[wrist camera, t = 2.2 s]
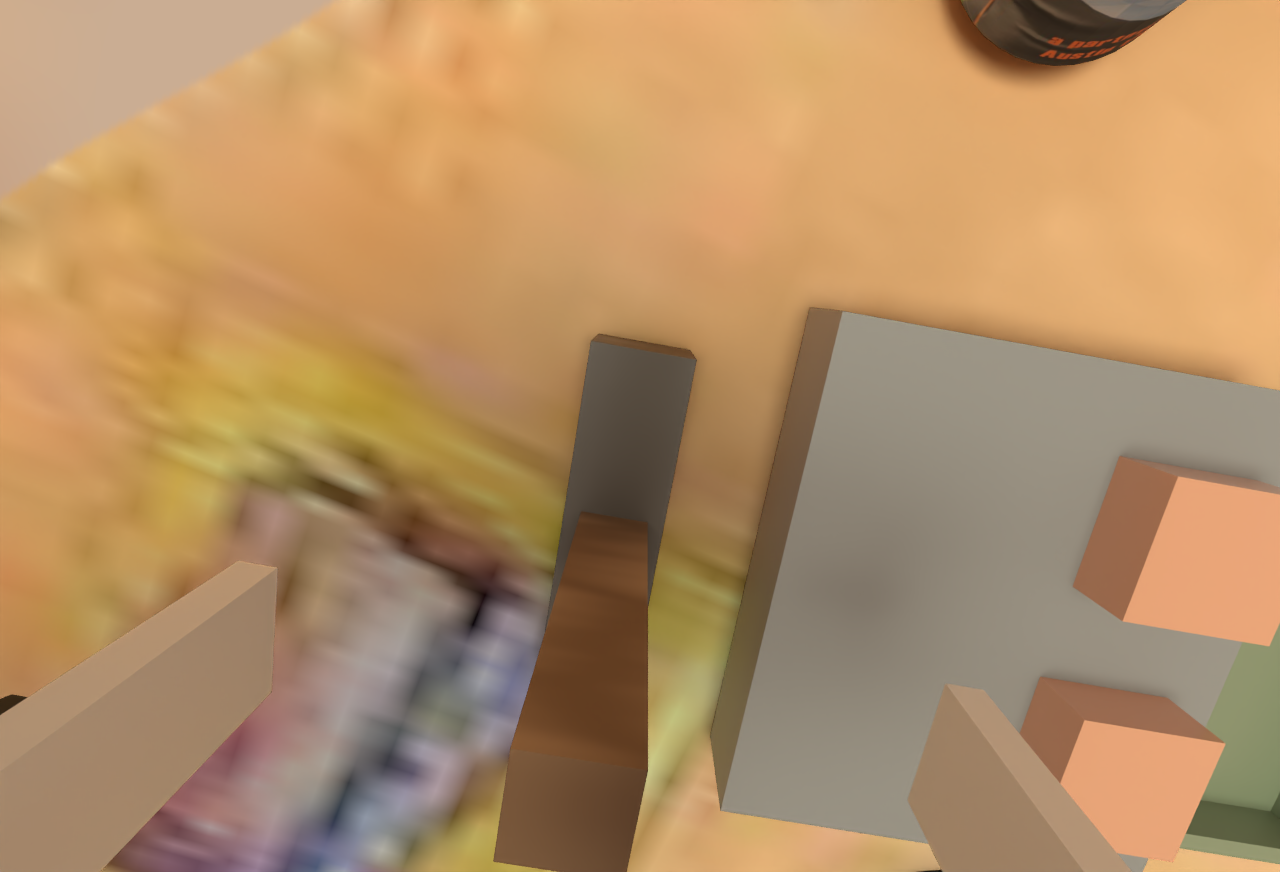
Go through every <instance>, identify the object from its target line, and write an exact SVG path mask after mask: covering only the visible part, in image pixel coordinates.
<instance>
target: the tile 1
mask: <svg viewBox="0 0 1280 872" xmlns="http://www.w3.org/2000/svg"><path fill="white" fill-rule="evenodd" d="M1020 735H1021V736H1022V737H1023V739H1024V740H1025V741H1026V742H1027V744H1028V745H1029V746H1030V747H1031V748H1032V750H1033V751H1034V752H1035V753H1036V755H1037V756H1038V757H1039V758H1040V760H1041V761H1042V762H1043V763H1044V764H1045V766H1046V767H1047V768H1048V769H1049V771H1050V772H1051V773H1052V774H1053V775H1054V777H1055V778H1056V779H1057V780H1058V782H1059V783H1060V784H1061V785H1062V786H1063V788H1064V789H1065V790H1066V791H1067V793H1068V794H1069V795H1070V796H1071V797H1072V799H1073V800H1074V801H1075V802H1076V804H1077V805H1078V806H1079V807H1080V809H1081V810H1082V811H1083V812H1084V813H1085V815H1086V816H1087V817H1088V818H1089V820H1090V821H1091V822H1092V823H1093V824H1094V826H1095V827H1096V828H1097V829H1098V831H1099V832H1100V833H1101V834H1102V835H1103V837H1104V838H1105V839H1106V840H1107V842H1108V843H1109V844H1110V845H1111V846H1112V848H1113V849H1114V850H1115V851H1116V853H1119V854H1125V855H1131V856H1138V857H1144V858H1150V859H1156V860H1163V861H1169V862H1173V861H1174V859H1175V856H1176V854H1177V852H1178V850H1179V848H1180V845H1181V843H1182V841H1183V839H1184V836H1185V834H1186V832H1187V830H1188V827H1189V825H1190V823H1191V821H1192V818H1193V816H1194V814H1195V812H1196V809H1197V807H1198V805H1199V803H1200V800H1201V798H1202V796H1203V794H1204V791H1205V789H1206V787H1207V785H1208V783H1209V780H1210V778H1211V776H1212V774H1213V771H1214V769H1215V767H1216V765H1217V762H1218V760H1219V758H1220V756H1221V753H1222V751H1223V749H1224V747H1225V744H1226V743H1224V742H1223V741H1222V740H1221V739H1219V738H1218V737H1217V736H1216V735H1214V734H1213V733H1212V732H1210V731H1209V730H1208V729H1207V728H1205V727H1204V726H1203V725H1201V724H1200V723H1199V722H1198V721H1196V720H1195V719H1194V718H1193V717H1191V716H1190V715H1189V714H1187V713H1186V712H1185V711H1184V710H1182V709H1181V708H1180V707H1179V706H1177V705H1176V704H1175V703H1173V702H1172V701H1171V700H1170V699H1168V698H1166V697H1160V696H1154V695H1148V694H1142V693H1136V692H1130V691H1124V690H1118V689H1112V688H1106V687H1100V686H1094V685H1088V684H1082V683H1076V682H1070V681H1064V680H1058V679H1052V678H1046V677H1040V678H1039V681H1038V684H1037V687H1036V689H1035V692H1034V695H1033V698H1032V701H1031V703H1030V706H1029V709H1028V712H1027V714H1026V717H1025V720H1024V723H1023V726H1022V728H1021V731H1020Z"/></svg>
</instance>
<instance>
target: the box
mask: <svg viewBox="0 0 1280 872" xmlns="http://www.w3.org/2000/svg"><path fill="white" fill-rule="evenodd" d="M1205 728H1207V729H1208V730H1209V731H1210V732H1212V733H1213V734H1214V735H1216V736H1217V737H1218V738H1219V739H1221V740H1222V741H1223V742H1224V743H1226V744H1225V747H1224V749H1223V751H1222V753H1221V756H1220V758H1219V760H1218V762H1217V765H1216V767H1215V769H1214V771H1213V774H1212V776H1211V778H1210V780H1209V783H1208V785H1207V787H1206V789H1205V791H1204V794H1203V796H1202V798H1201V800H1200V803H1199V805H1198V807H1197V809H1196V812H1195V814H1194V816H1193V818H1192V821H1191V823H1190V825H1189V827H1188V830H1187V832H1186V834H1185V836H1184V839H1183V841H1182V843H1181V845H1180V848H1182V849H1188V850H1194V851H1200V852H1207V853H1213V854H1219V855H1225V856H1232V857H1238V858H1244V859H1250V860H1257V861H1263V862H1269V863H1275V864H1280V623H1279V626H1278V628H1277V630H1276V632H1275V635H1274V637H1273V639H1272V641H1271V644H1270V646H1264V645H1258V644H1252V643H1246V642H1242V644H1241V647H1240V649H1239V651H1238V654H1237V656H1236V658H1235V660H1234V663H1233V665H1232V667H1231V670H1230V672H1229V674H1228V677H1227V679H1226V681H1225V683H1224V686H1223V688H1222V690H1221V693H1220V695H1219V697H1218V700H1217V702H1216V704H1215V706H1214V709H1213V711H1212V713H1211V716H1210V718H1209V720H1208V723H1207V725H1206V727H1205Z"/></svg>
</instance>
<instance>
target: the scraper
mask: <svg viewBox="0 0 1280 872" xmlns="http://www.w3.org/2000/svg"><path fill="white" fill-rule="evenodd" d="M696 361H697V360H696V358H695V357H694V355H693V354H692V352H691V351H690V350H686V349H681V348H675V347H670V346H664V345H659V344H653V343H647V342H642V341H636V340H631V339H625V338H619V337H614V336H608V335H603V334H598V335H597V336H596V337H595V338H594V339H593V340H591V344H590V350H589V357H588V363H587V369H586V376H585V382H584V388H583V395H582V401H581V407H580V414H579V420H578V426H577V433H576V439H575V445H574V452H573V458H572V464H571V471H570V477H569V483H568V490H567V496H566V502H565V509H564V515H563V521H562V528H561V534H560V540H559V547H558V553H557V559H556V566H555V572H554V578H553V585H552V591H551V597H550V604H549V610H548V616H547V623H546V629H545V634H544V638H543V641H542V644H541V648H540V651H539V654H538V658H537V661H536V664H535V668H534V671H533V675H532V678H531V681H530V685H529V688H528V691H527V695H526V698H525V701H524V705H523V708H522V711H521V715H520V718H519V722H518V725H517V728H516V732H515V735H514V738H513V742H512V745H511V748H510V755H509V761H508V768H507V774H506V781H505V788H504V794H503V801H502V808H501V814H500V821H499V827H498V834H497V841H496V847H495V854H494V860H493V862H499V863H506V864H512V865H519V866H525V867H532V868H538V869H545V870H551V871H558V872H627V867H628V862H629V858H630V853H631V848H632V843H633V839H634V834H635V829H636V824H637V820H638V815H639V810H640V805H641V801H642V796H643V791H644V786H645V782H646V777H647V772H648V604H649V599H650V594H651V589H652V584H653V579H654V574H655V569H656V564H657V559H658V554H659V549H660V543H661V538H662V533H663V528H664V523H665V518H666V513H667V508H668V503H669V498H670V493H671V488H672V483H673V477H674V472H675V467H676V462H677V457H678V452H679V447H680V442H681V437H682V432H683V427H684V422H685V416H686V411H687V406H688V401H689V396H690V391H691V386H692V381H693V376H694V371H695V366H696Z"/></svg>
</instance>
